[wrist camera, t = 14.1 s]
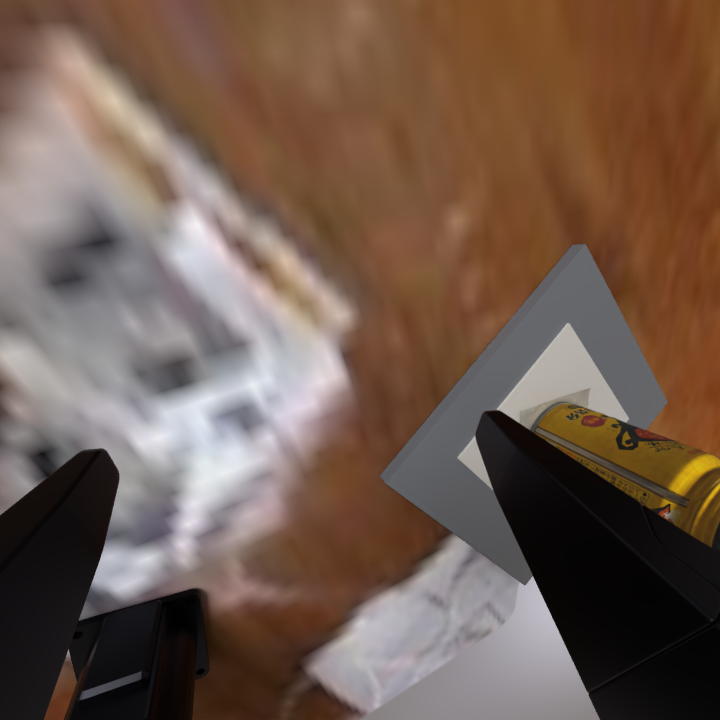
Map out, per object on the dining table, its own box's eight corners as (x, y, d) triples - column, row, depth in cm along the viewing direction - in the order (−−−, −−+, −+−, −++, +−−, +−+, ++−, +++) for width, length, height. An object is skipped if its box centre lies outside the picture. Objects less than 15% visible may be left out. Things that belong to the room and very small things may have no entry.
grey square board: (516, 576, 32) (526, 587, 31) (379, 475, 24) (387, 485, 23) (655, 398, 34) (670, 402, 33) (572, 244, 26) (587, 243, 24)
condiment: (587, 386, 28) (818, 459, 17) (581, 475, 30) (779, 588, 20) (517, 410, 26) (732, 510, 15) (516, 504, 28) (700, 649, 17)
